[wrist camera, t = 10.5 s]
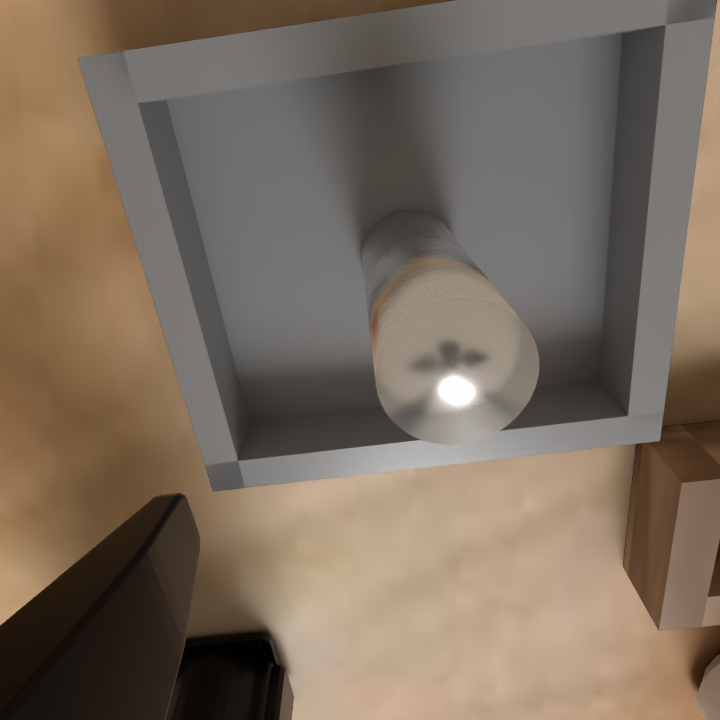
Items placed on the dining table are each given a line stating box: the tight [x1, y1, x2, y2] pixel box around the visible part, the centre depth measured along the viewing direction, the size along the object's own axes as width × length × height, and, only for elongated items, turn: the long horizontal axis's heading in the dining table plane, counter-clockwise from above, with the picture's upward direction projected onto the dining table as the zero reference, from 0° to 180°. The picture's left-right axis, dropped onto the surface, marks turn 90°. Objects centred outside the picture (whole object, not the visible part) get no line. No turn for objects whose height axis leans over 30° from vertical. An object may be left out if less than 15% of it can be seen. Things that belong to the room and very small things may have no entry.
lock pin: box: [361, 209, 539, 445], centre depth 15 cm, size 3×3×9 cm
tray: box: [77, 0, 717, 491], centre depth 18 cm, size 16×14×4 cm
